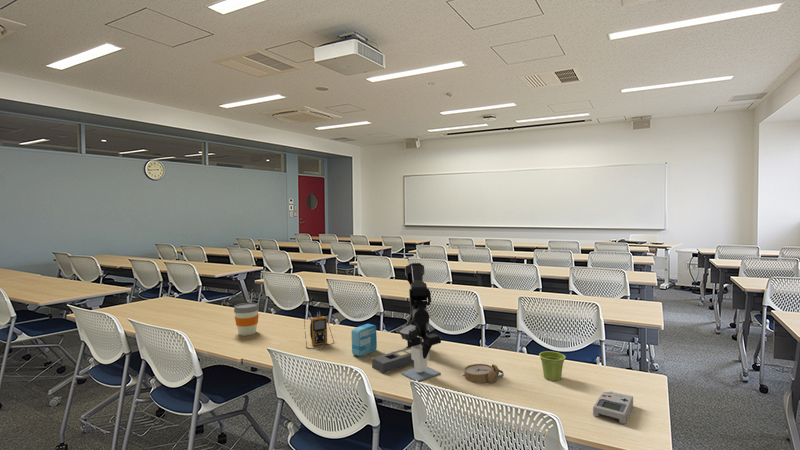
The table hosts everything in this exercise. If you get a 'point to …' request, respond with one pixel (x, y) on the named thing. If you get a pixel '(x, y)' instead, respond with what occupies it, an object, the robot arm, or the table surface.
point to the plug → (419, 358)
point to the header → (392, 360)
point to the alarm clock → (482, 373)
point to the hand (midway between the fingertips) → (420, 356)
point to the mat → (420, 374)
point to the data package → (364, 340)
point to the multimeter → (318, 329)
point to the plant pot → (552, 364)
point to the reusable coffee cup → (246, 318)
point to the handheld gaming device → (613, 406)
